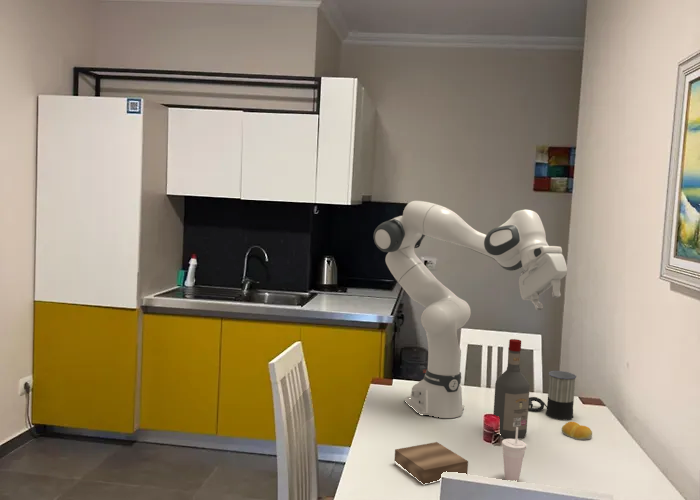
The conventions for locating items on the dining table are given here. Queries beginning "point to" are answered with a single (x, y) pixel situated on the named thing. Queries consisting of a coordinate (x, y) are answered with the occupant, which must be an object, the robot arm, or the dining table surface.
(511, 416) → the liquor
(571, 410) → the milk frother
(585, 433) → the bread roll
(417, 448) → the plinth
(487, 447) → the dining table surface
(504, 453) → the smoothie
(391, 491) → the dining table surface
